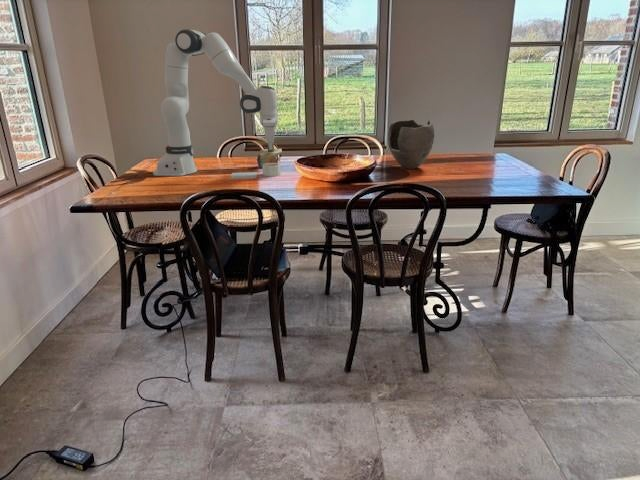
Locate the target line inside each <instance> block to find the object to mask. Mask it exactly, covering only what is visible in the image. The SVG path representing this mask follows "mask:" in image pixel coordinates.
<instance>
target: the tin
mask: <svg viewBox="0 0 640 480" xmlns="http://www.w3.org/2000/svg"><path fill="white" fill-rule="evenodd" d="M266 163H278V164H279V155H263V156H260V153H259V154H258V155H257V157H256V164H257V166H258V168H260V169H263V168H262V165H263V164H266Z"/></svg>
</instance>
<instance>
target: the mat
mask: <svg viewBox="0 0 640 480" xmlns="http://www.w3.org/2000/svg"><path fill="white" fill-rule="evenodd" d="M257 178H258V172H257V171H252V172H250V171H248V172H232V173H231V175H230V179H231V180H239V179H245V180H246V179H257Z"/></svg>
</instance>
